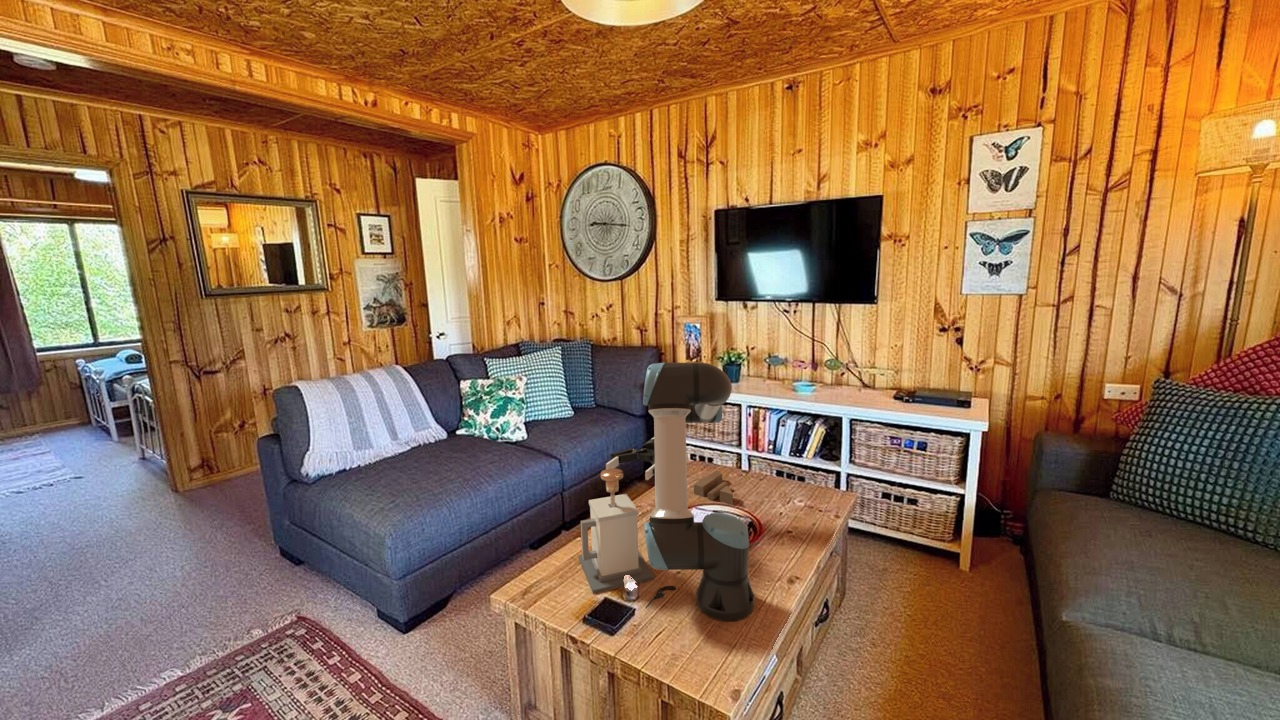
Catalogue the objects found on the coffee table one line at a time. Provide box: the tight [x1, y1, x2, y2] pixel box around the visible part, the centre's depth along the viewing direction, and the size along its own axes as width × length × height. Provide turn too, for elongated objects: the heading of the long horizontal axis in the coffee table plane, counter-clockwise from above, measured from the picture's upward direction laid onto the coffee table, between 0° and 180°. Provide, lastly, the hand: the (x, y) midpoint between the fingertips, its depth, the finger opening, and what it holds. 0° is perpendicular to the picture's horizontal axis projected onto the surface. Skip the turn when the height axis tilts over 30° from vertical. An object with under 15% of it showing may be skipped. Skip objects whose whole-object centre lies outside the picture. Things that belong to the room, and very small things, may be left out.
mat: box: [578, 550, 655, 594], centre depth 151 cm, size 18×18×1 cm
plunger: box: [600, 467, 624, 508], centre depth 148 cm, size 6×6×23 cm
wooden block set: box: [693, 470, 734, 506], centre depth 200 cm, size 17×6×18 cm
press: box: [580, 493, 642, 582], centre depth 149 cm, size 12×16×19 cm
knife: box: [644, 585, 676, 609], centre depth 137 cm, size 14×4×1 cm, turn 150°
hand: (626, 471), depth 154 cm, fingers open, 13 cm apart
